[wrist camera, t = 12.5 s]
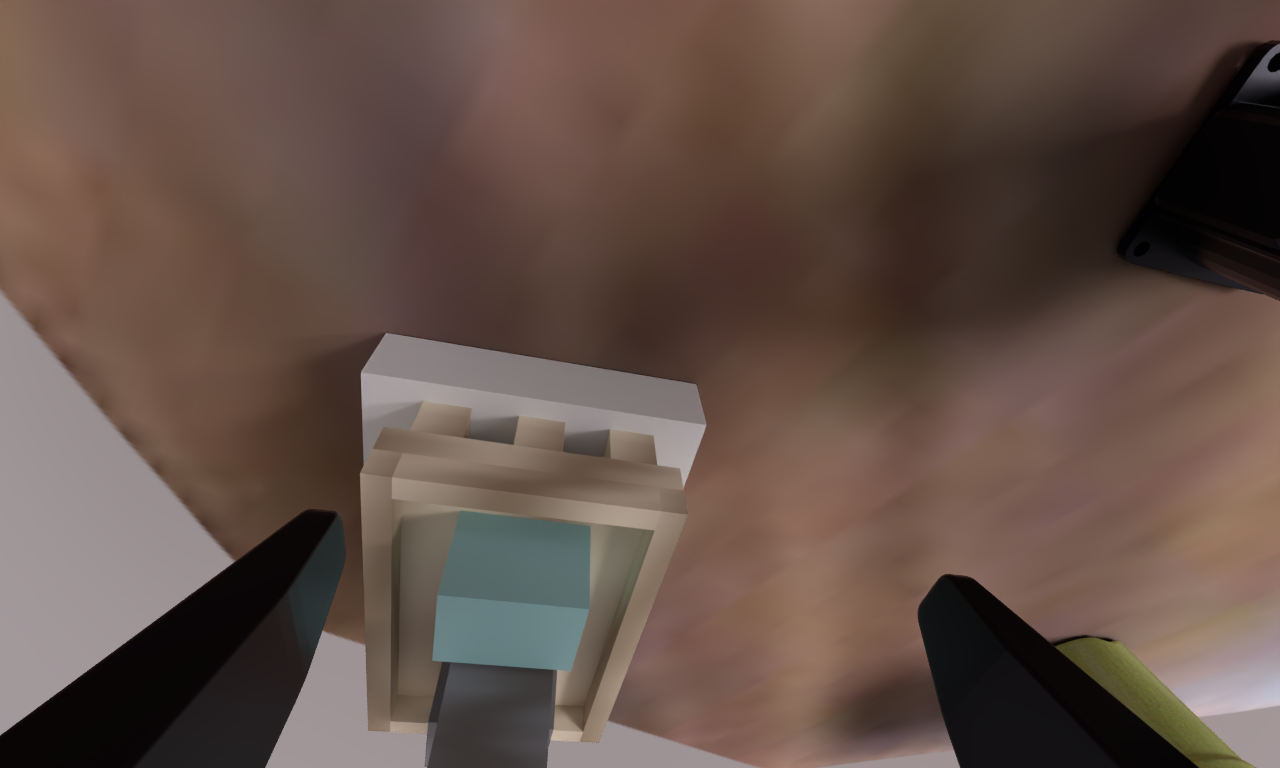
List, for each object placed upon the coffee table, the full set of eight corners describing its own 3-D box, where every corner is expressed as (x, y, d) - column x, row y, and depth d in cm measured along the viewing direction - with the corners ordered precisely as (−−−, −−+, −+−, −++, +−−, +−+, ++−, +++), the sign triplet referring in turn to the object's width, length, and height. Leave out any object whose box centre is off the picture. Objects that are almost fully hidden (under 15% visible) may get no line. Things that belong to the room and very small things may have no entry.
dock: (696, 384, 22) (706, 425, 19) (613, 626, 29) (615, 673, 27) (386, 332, 20) (360, 372, 18) (386, 606, 27) (369, 655, 25)
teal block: (590, 525, 18) (589, 609, 16) (574, 586, 20) (571, 670, 17) (460, 510, 17) (437, 595, 15) (454, 574, 19) (432, 660, 17)
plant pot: (1160, 672, 35) (1304, 844, 28) (1005, 722, 38) (1101, 892, 31) (1146, 594, 31) (1315, 776, 24) (971, 656, 33) (1075, 839, 26)
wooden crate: (674, 438, 20) (730, 759, 11) (598, 661, 27) (599, 960, 18) (398, 397, 18) (227, 735, 10) (394, 646, 25) (294, 965, 17)
